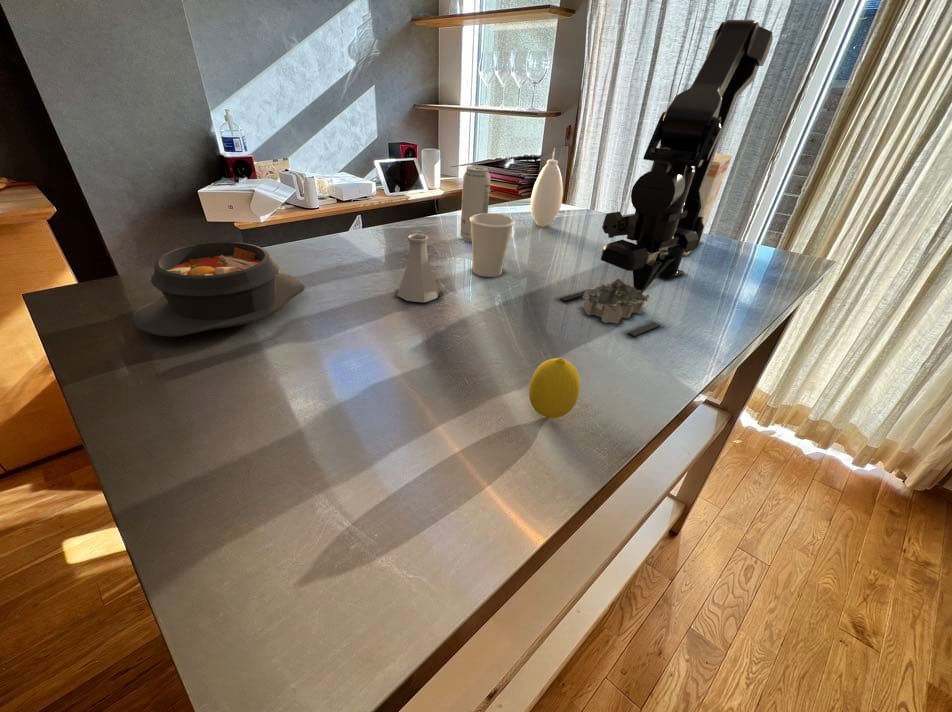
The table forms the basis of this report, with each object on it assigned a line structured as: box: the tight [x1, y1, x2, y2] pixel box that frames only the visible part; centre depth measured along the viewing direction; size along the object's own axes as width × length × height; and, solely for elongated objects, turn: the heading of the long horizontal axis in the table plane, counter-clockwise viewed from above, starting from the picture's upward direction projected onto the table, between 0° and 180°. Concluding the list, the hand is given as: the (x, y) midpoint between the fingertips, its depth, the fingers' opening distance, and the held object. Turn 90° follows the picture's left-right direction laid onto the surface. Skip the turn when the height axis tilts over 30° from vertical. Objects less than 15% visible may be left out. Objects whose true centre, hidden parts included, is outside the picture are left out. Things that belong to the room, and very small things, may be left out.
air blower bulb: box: [530, 147, 564, 228], centre depth 111 cm, size 8×8×18 cm
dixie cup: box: [470, 212, 515, 278], centre depth 85 cm, size 8×8×10 cm
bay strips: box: [559, 290, 661, 338], centre depth 76 cm, size 7×16×1 cm, turn 36°
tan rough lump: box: [582, 278, 650, 324], centre depth 75 cm, size 11×8×4 cm
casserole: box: [131, 241, 306, 338], centre depth 66 cm, size 25×19×8 cm
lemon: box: [528, 357, 581, 419], centre depth 49 cm, size 6×6×8 cm
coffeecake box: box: [683, 152, 733, 256], centre depth 103 cm, size 15×7×20 cm, turn 144°
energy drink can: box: [459, 165, 492, 243], centre depth 100 cm, size 6×6×15 cm
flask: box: [396, 233, 440, 304], centre depth 74 cm, size 7×7×10 cm
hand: (637, 294), depth 79 cm, fingers closed
